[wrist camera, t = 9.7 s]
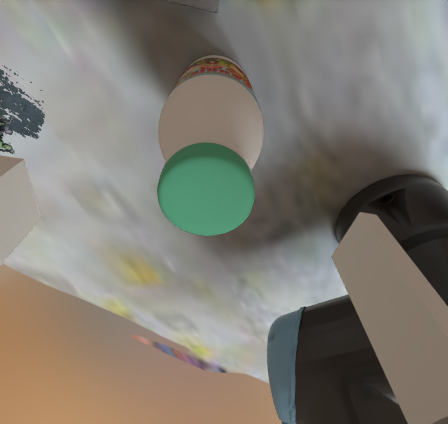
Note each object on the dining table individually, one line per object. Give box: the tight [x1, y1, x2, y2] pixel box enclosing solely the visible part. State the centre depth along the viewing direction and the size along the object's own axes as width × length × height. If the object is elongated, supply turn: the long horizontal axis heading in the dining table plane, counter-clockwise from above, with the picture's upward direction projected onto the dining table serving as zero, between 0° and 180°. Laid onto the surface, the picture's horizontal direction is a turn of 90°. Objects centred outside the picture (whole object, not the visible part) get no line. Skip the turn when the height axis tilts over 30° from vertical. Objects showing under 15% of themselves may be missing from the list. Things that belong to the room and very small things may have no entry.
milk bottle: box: [157, 55, 264, 236], centre depth 20 cm, size 8×8×20 cm
